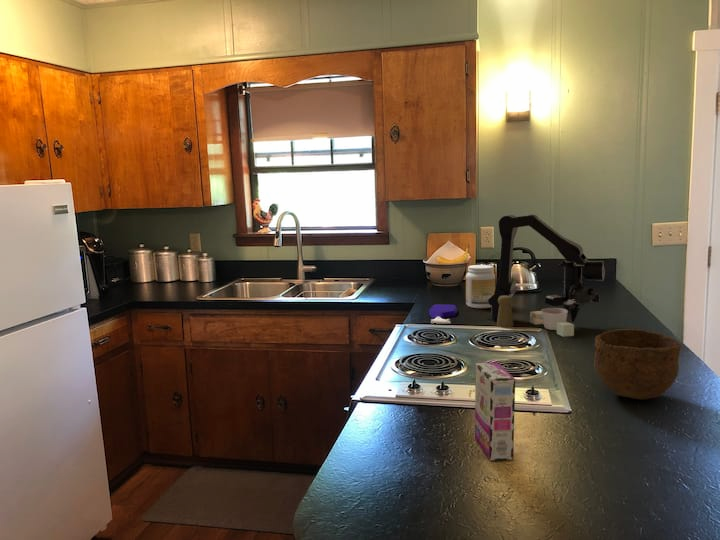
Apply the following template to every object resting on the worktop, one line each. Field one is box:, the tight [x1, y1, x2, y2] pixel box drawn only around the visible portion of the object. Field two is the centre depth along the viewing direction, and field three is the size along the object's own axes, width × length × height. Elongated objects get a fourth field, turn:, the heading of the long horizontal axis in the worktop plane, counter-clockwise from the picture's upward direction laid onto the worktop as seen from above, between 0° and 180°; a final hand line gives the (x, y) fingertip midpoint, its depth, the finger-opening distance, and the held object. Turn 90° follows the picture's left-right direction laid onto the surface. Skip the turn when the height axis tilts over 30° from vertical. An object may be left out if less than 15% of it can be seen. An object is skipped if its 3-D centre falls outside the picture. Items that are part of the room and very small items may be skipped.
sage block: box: [556, 321, 575, 337], centre depth 203 cm, size 4×4×4 cm
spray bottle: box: [428, 303, 458, 325], centre depth 233 cm, size 3×11×24 cm
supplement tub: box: [465, 264, 496, 309], centre depth 251 cm, size 12×12×17 cm
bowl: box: [593, 328, 682, 401], centre depth 144 cm, size 19×19×15 cm
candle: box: [540, 307, 568, 331], centre depth 211 cm, size 9×9×6 cm
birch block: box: [529, 310, 544, 325], centre depth 220 cm, size 4×4×4 cm
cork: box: [496, 295, 514, 328], centre depth 217 cm, size 6×6×11 cm
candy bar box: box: [474, 361, 516, 462], centre depth 118 cm, size 11×5×16 cm, turn 5°
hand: (572, 322), depth 213 cm, fingers closed
